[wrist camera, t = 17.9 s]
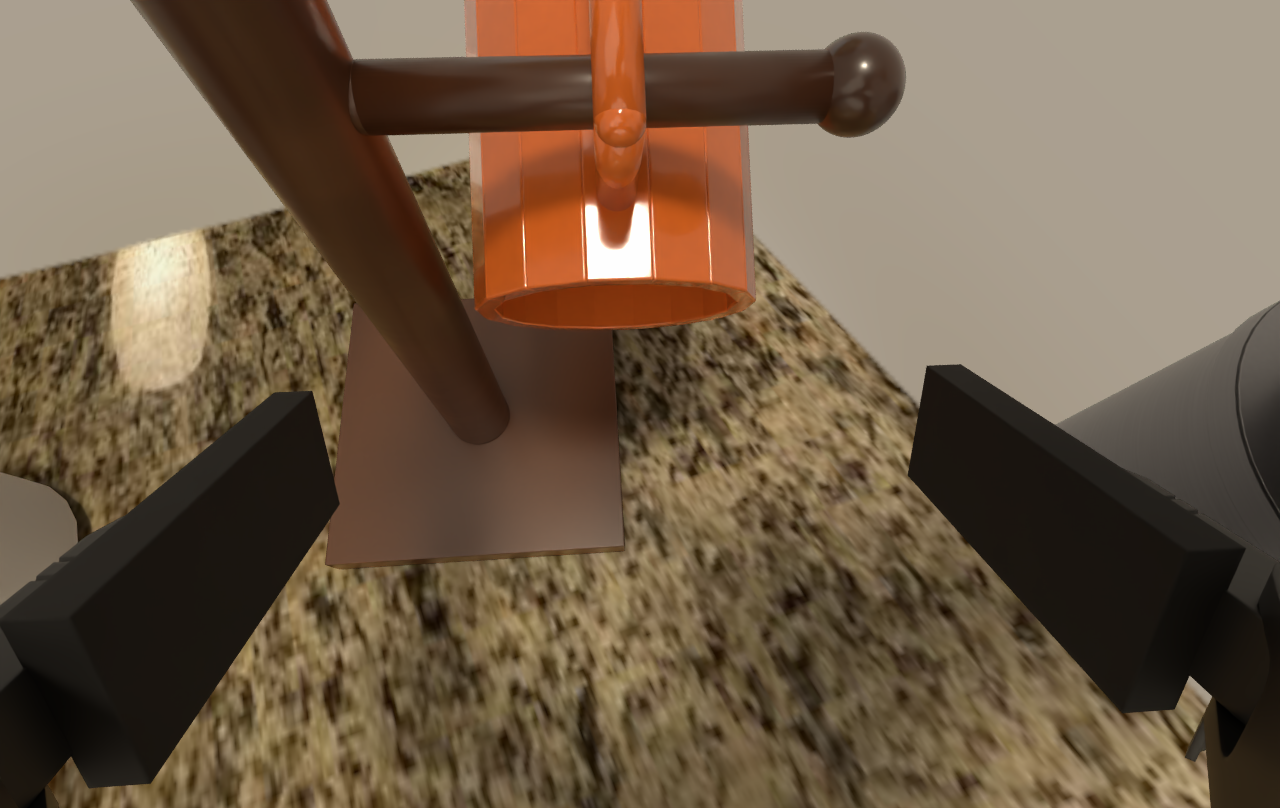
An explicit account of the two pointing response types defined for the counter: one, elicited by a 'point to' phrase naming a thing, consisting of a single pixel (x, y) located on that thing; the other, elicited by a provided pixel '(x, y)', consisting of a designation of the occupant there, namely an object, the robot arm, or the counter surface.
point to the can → (31, 531)
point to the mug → (610, 178)
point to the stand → (420, 283)
